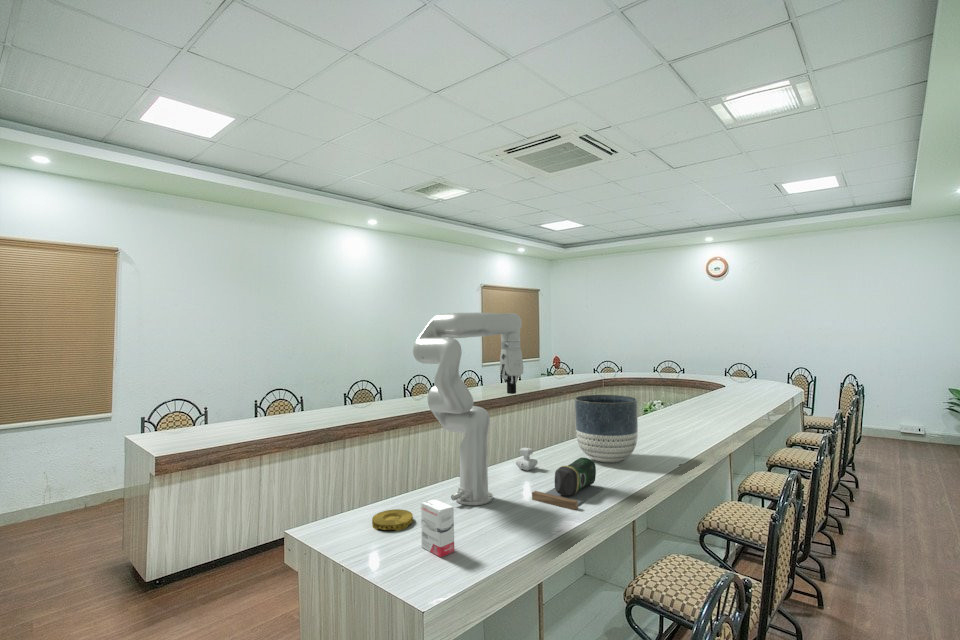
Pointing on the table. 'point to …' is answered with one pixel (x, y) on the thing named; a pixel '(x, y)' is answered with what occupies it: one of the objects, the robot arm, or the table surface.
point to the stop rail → (555, 500)
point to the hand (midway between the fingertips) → (511, 393)
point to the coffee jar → (575, 476)
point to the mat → (579, 493)
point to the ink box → (437, 527)
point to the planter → (606, 426)
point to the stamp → (526, 460)
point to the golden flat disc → (392, 520)
